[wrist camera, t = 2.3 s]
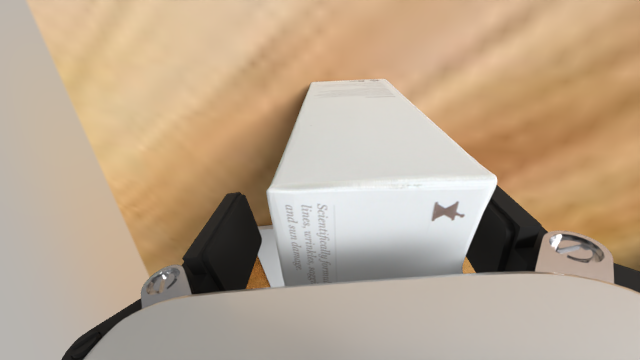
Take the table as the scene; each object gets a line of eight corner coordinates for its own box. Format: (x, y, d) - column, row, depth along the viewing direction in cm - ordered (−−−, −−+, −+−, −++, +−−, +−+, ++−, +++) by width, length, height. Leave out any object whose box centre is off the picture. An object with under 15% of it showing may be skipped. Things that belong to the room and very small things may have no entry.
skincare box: (310, 80, 19) (244, 171, 6) (391, 77, 18) (518, 167, 5) (317, 176, 23) (286, 353, 10) (382, 175, 22) (441, 362, 9)
